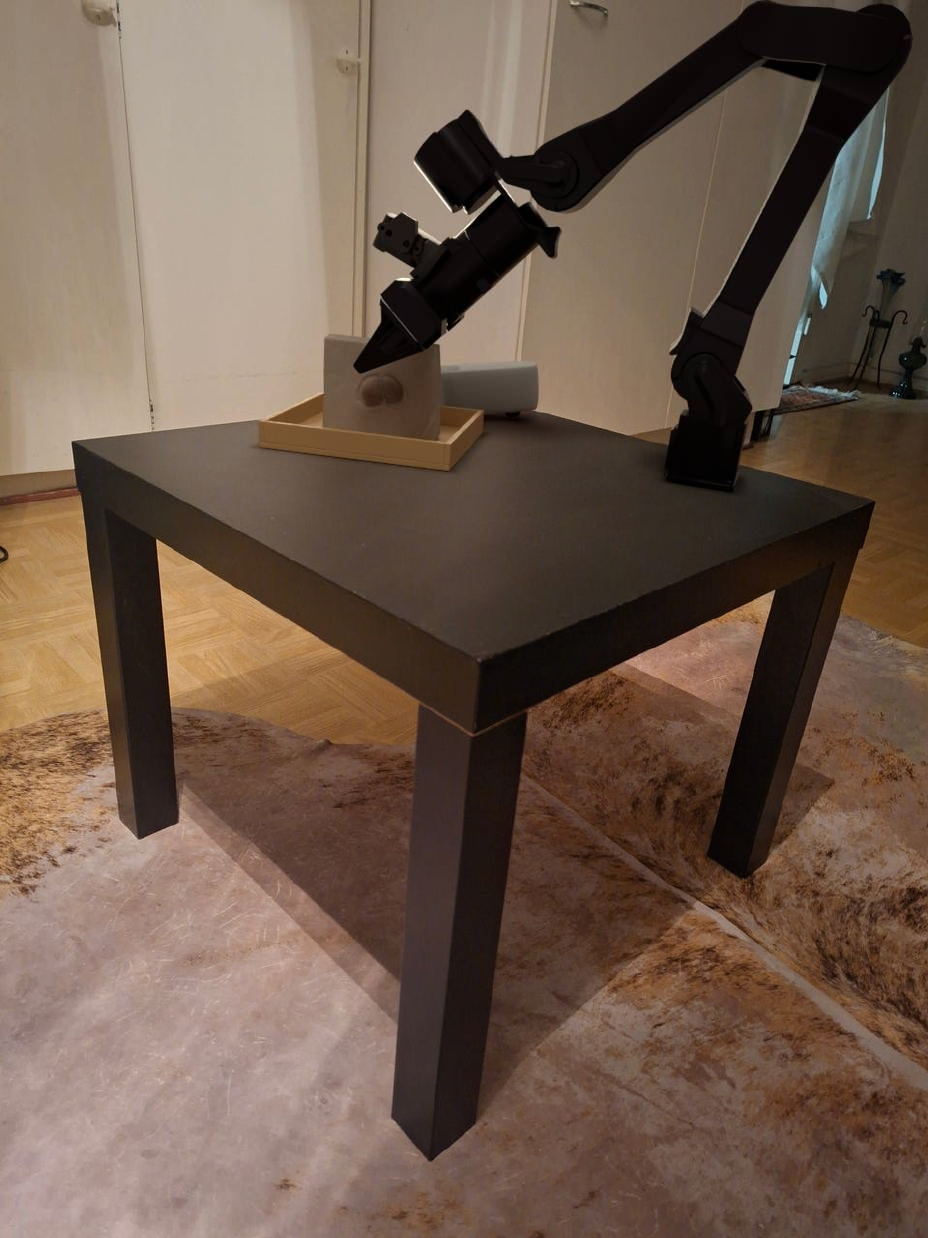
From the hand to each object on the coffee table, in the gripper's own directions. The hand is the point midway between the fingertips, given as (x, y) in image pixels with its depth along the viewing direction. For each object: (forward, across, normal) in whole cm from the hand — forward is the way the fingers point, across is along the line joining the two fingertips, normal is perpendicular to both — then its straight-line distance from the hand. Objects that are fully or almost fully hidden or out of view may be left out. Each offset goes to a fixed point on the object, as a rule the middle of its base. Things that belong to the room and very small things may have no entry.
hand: (366, 362), depth 85 cm
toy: (-1, -16, +13) cm, 21 cm away
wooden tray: (+4, 0, +6) cm, 8 cm away
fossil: (+4, 0, +6) cm, 8 cm away
